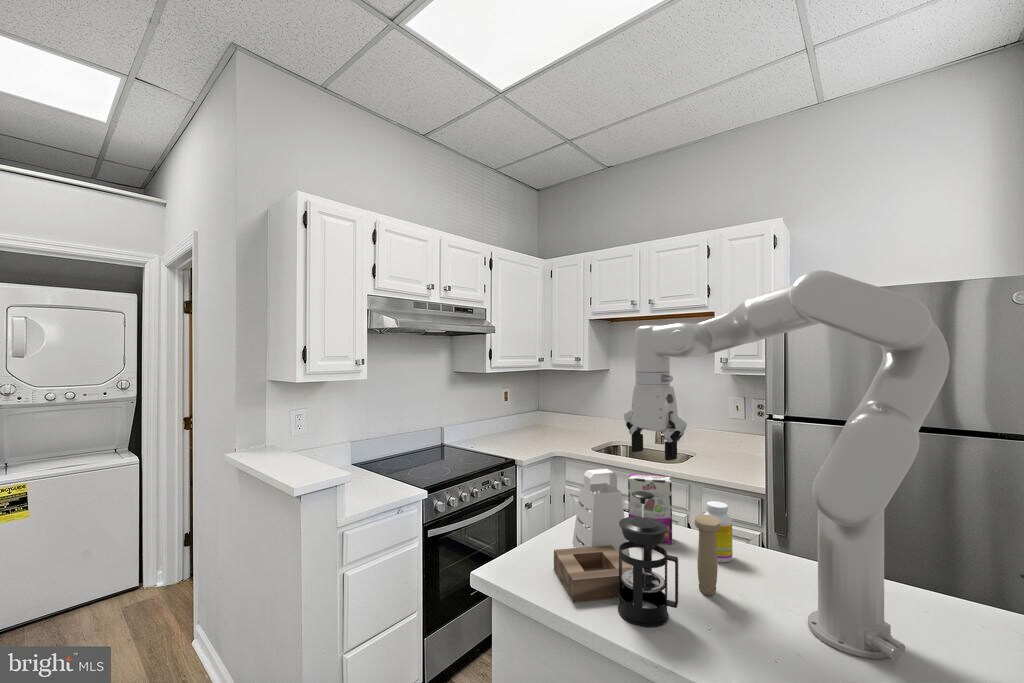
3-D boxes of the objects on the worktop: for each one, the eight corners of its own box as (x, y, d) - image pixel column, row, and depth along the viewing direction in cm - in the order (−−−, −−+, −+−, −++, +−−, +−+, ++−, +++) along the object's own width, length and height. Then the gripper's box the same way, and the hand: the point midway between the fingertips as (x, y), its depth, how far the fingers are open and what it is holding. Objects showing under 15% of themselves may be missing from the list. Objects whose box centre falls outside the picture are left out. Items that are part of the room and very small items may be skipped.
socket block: (638, 596, 95) (638, 574, 95) (573, 602, 92) (573, 580, 92) (611, 564, 109) (611, 545, 109) (553, 569, 106) (553, 549, 106)
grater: (572, 545, 119) (572, 467, 119) (608, 540, 122) (608, 464, 122) (590, 563, 109) (591, 478, 109) (630, 558, 112) (630, 475, 112)
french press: (608, 618, 87) (608, 495, 87) (621, 594, 95) (621, 482, 96) (673, 636, 82) (674, 505, 82) (681, 609, 90) (681, 491, 90)
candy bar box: (671, 537, 124) (671, 476, 124) (672, 545, 119) (672, 481, 119) (628, 532, 127) (629, 472, 127) (627, 539, 123) (628, 477, 123)
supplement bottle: (738, 560, 111) (738, 507, 111) (717, 565, 108) (717, 510, 108) (717, 549, 117) (717, 498, 117) (696, 553, 114) (696, 501, 115)
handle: (720, 587, 98) (720, 516, 99) (719, 602, 93) (719, 527, 93) (695, 582, 100) (695, 512, 101) (694, 596, 95) (694, 523, 95)
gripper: (695, 381, 100) (697, 460, 99) (635, 377, 114) (636, 447, 114) (672, 382, 96) (673, 465, 95) (613, 378, 110) (614, 450, 110)
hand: (653, 455), depth 105 cm, fingers open, 9 cm apart
